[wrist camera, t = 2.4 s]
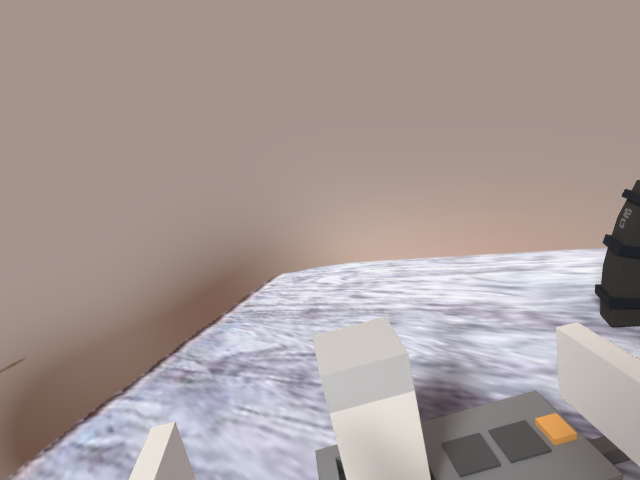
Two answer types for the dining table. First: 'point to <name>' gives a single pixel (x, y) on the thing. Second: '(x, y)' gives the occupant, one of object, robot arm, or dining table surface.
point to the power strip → (504, 446)
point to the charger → (372, 402)
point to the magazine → (622, 266)
